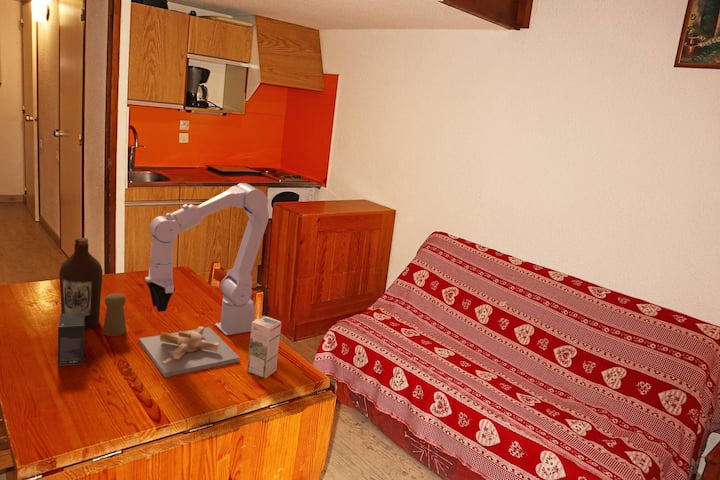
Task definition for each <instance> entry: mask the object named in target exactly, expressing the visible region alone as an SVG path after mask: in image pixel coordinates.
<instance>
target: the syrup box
mask: <svg viewBox="0 0 720 480" xmlns="http://www.w3.org/2000/svg"><path fill="white" fill-rule="evenodd" d="M281 330H282V321H280V320H277V319H275V318H272V317H270V316H266V315H262V316H259V317H258V318H256V319H254V321H253V322H252V325H251V331H250V338H249V347H248V348H249V349H248V360H247V370H246V371H247V373H250V374H252V375H255V376H257V377H259V378H261V379H266V378H268V377H269V376H271V375H272V374H274V373H275V372H276V371H277V366H278V354H279V349H280V348H279V346H280V337H281Z"/></svg>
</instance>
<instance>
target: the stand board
mask: <svg viewBox="0 0 720 480" xmlns="http://www.w3.org/2000/svg"><path fill="white" fill-rule="evenodd" d="M196 329H197V328H196ZM196 329H191V330H189V329H188V331H195V330H196ZM186 331H187V330H184V332H186ZM170 334H175V335H178V334H179V331H178V332H176V331H175V332H172V333H170ZM201 339H202V340H207V341H212V342H218V343H219V350H218V351H217V352H215V351H210V350H205V349H199V350H198V351H195V352H185V353H184V354H183V355H182V356H181V357H180V358H179V359H175V358H174V351H175V350H176V349H177V348H178V344H173V343H168V342H162V341H160V334H159V335H152V336H146V337H140V338H139V340H138V341H139V342H138V343H139V344H140V346H141V347H142V349H143V350H144V351H145V353H146V354H147V355H148V357H149V359H150V360H151V361H152V362H153V364H154V365H155V367H157V369H158V371H159V372H160V373H161V375H162V376H163V378H168V377H173V376H178V375H181V374H186V373H187V374H188V373H192V372H197V371H201V370H206V369H212V368H215V367H221V366H225V365H229V364H230V365H231V364H234V363H238V362H240V356H239V355H238V354H237V353H236V352H235V351H234V350H233V349H232V348H231V347H230V346H229V345H228V344H227V343H226V342H225V341H224V340H223V339H222V338H221V337H220V336H219V335H218V334H217V333H216V332H215V331H214V330H213V329H212V328H211V327H210V326H207V327H204V334H203V335H202V337H201Z"/></svg>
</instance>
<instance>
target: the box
mask: <svg viewBox="0 0 720 480" xmlns="http://www.w3.org/2000/svg"><path fill="white" fill-rule="evenodd" d="M84 316H85V315H84V313H66V314H61V313H60V314H59V320H58V325H57V328H58V329H57V366H58V367H60V366H61V367H62V366H74V365H75V366H77V365H83V364H84V355H85V354H84V353H85V352H84V351H85V350H84V349H85V330H84Z"/></svg>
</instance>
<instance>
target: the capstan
mask: <svg viewBox="0 0 720 480" xmlns="http://www.w3.org/2000/svg"><path fill="white" fill-rule="evenodd" d="M204 328H205V327H204V326H198V327H197V328H196V330H195V329H194V330H195V331H189V330H184V331H186V332H184V331H183V330H179V331H178V332H179V334H178V335H175V334H170V333H169V332H164V331H162V332H161V333H160V334H159V335H160V341H162V342H168V343H173V344H178V348H177V349H176V350H175V351H174V358H175V359H179V358H180V357H181V356H182V355H183V354H184V353H185V352H195V351H198V350H199V349H205V350H210V351H215V352H217V351H218V350H219V343H218V342H212V341H207V340H202V339H201V337H202V335H203V334H204Z"/></svg>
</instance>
